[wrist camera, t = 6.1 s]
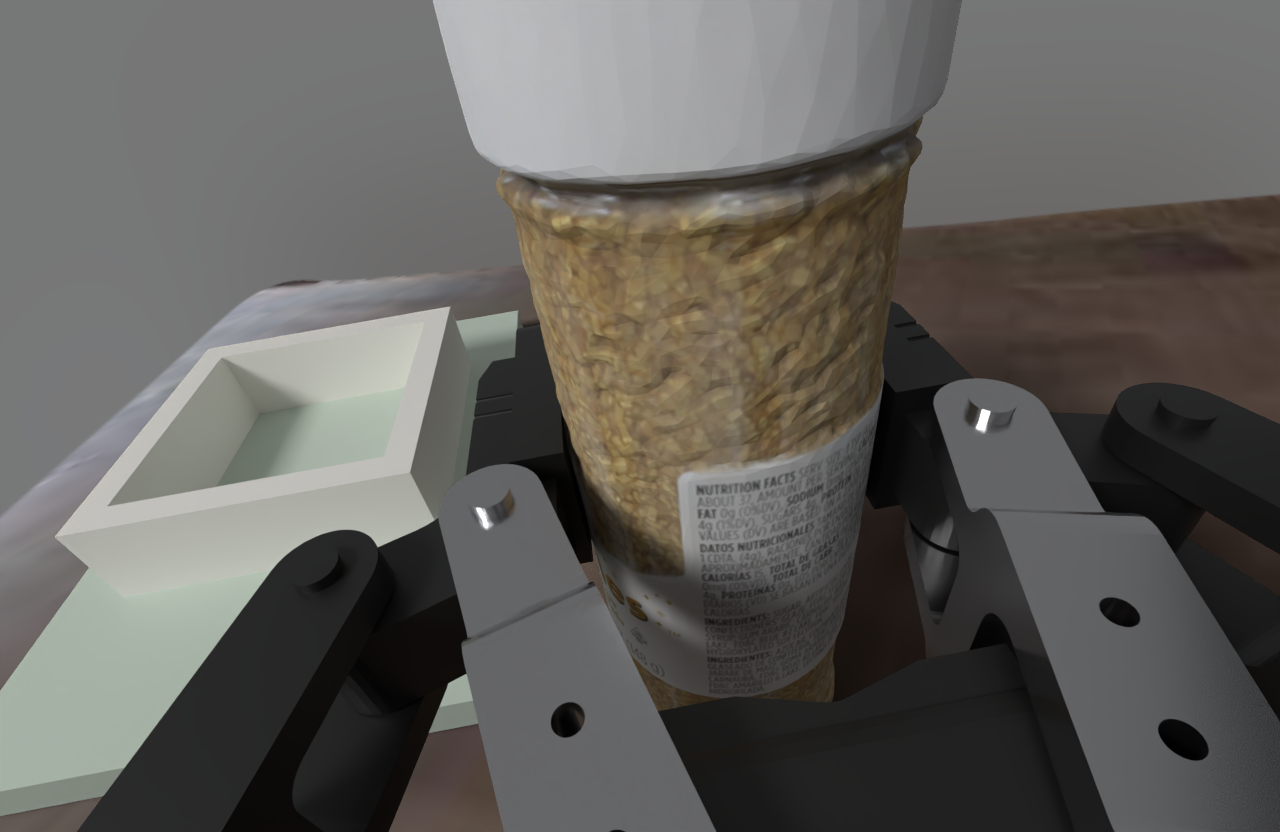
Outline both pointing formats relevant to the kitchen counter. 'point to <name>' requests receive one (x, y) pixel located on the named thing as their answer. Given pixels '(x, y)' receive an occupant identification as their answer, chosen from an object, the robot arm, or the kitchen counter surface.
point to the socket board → (236, 524)
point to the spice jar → (711, 295)
